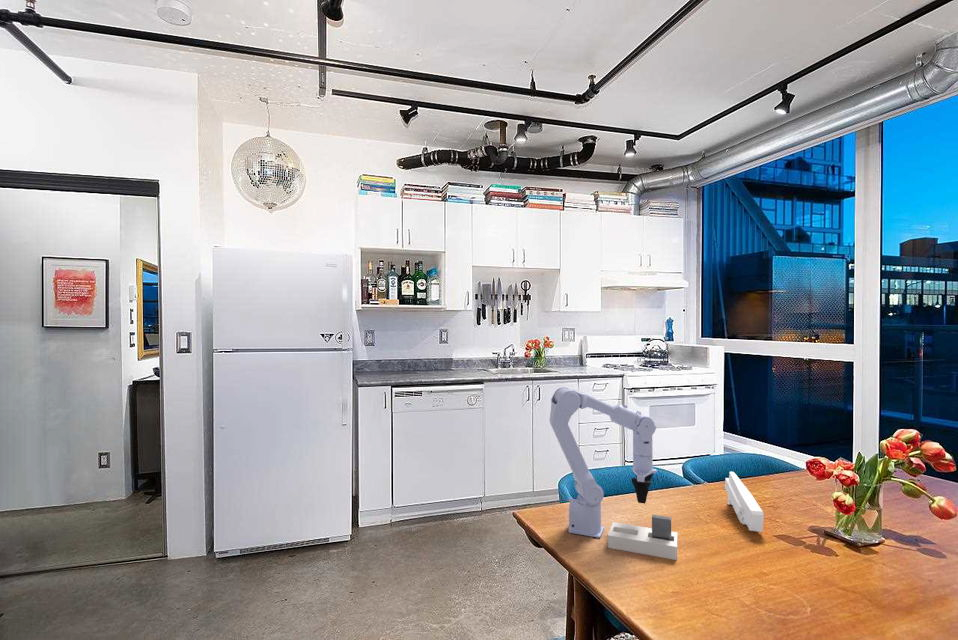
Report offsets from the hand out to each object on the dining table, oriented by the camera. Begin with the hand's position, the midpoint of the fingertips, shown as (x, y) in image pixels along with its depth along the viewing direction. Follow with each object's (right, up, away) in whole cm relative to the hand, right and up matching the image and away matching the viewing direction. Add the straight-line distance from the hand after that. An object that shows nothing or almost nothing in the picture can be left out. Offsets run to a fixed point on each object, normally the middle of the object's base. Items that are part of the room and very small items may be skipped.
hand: (642, 498), depth 148 cm
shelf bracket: (+35, -10, +8) cm, 38 cm away
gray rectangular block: (+1, -9, -14) cm, 16 cm away
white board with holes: (-4, -9, -12) cm, 15 cm away
